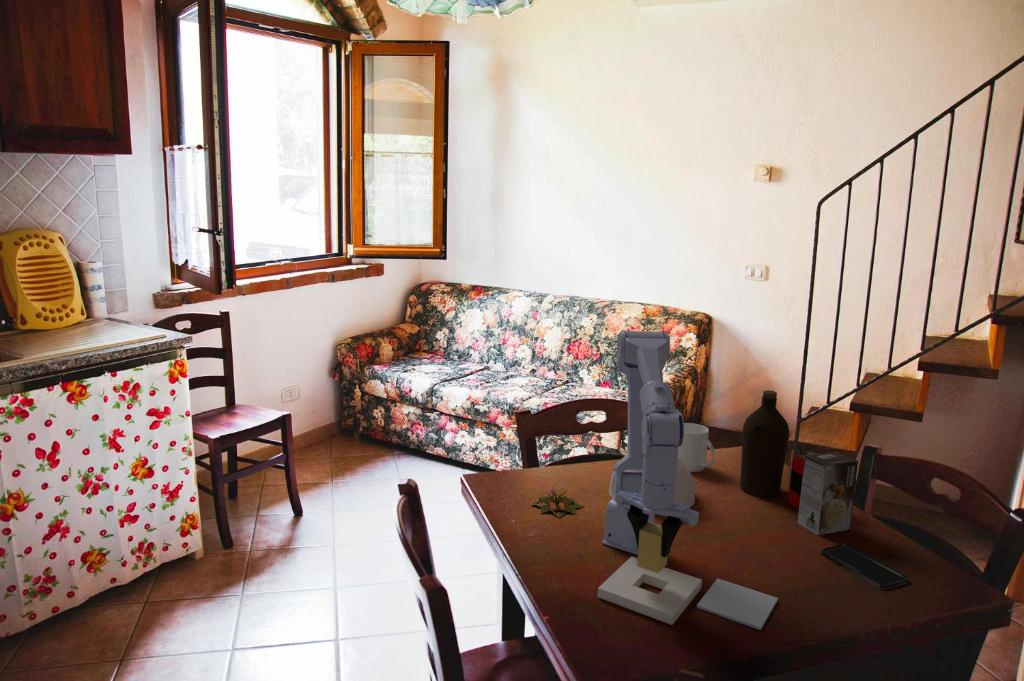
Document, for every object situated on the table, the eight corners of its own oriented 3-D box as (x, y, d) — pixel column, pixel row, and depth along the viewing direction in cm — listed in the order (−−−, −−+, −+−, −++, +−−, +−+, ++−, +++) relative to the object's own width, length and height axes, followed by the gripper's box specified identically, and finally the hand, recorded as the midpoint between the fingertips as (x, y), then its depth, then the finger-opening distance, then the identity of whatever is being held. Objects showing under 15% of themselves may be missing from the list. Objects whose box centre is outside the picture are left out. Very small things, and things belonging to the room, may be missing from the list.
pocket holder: (597, 597, 127) (598, 587, 127) (631, 564, 139) (631, 556, 138) (672, 625, 120) (673, 615, 119) (701, 588, 131) (702, 579, 131)
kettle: (710, 496, 172) (717, 424, 168) (667, 523, 157) (673, 445, 153) (638, 472, 185) (642, 405, 182) (591, 496, 170) (595, 423, 166)
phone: (845, 543, 149) (911, 578, 135) (844, 548, 149) (910, 583, 136) (817, 549, 146) (882, 586, 132) (817, 555, 146) (881, 592, 132)
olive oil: (785, 501, 170) (796, 400, 165) (738, 495, 173) (748, 395, 167) (779, 483, 180) (790, 388, 175) (735, 479, 183) (745, 384, 178)
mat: (696, 607, 125) (696, 605, 125) (717, 580, 134) (717, 578, 134) (760, 630, 119) (760, 627, 119) (777, 600, 128) (778, 598, 128)
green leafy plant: (555, 492, 172) (555, 475, 171) (594, 509, 164) (595, 490, 163) (520, 507, 164) (520, 488, 163) (559, 525, 156) (560, 505, 155)
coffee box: (828, 517, 162) (836, 450, 159) (850, 530, 156) (860, 460, 153) (796, 523, 159) (804, 455, 155) (817, 536, 153) (826, 465, 150)
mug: (701, 479, 181) (704, 439, 179) (665, 464, 191) (668, 426, 189) (722, 472, 186) (726, 433, 184) (686, 458, 196) (689, 421, 194)
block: (637, 566, 128) (639, 530, 126) (646, 557, 131) (648, 521, 129) (658, 573, 125) (661, 536, 124) (666, 564, 129) (669, 528, 127)
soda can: (800, 495, 174) (806, 448, 172) (829, 506, 168) (835, 458, 165) (780, 501, 170) (786, 453, 167) (808, 513, 164) (815, 464, 161)
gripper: (610, 476, 126) (606, 547, 128) (690, 497, 118) (684, 573, 120) (628, 464, 131) (623, 532, 134) (705, 484, 123) (698, 556, 126)
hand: (653, 550), depth 128 cm, fingers closed on block, 4 cm apart
